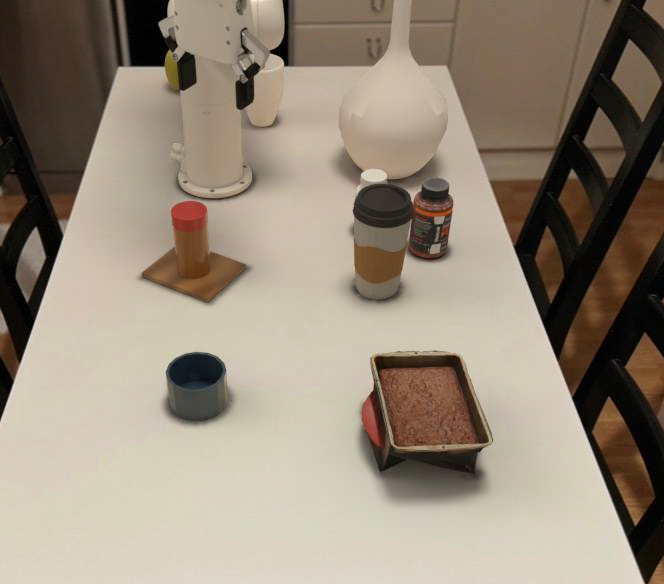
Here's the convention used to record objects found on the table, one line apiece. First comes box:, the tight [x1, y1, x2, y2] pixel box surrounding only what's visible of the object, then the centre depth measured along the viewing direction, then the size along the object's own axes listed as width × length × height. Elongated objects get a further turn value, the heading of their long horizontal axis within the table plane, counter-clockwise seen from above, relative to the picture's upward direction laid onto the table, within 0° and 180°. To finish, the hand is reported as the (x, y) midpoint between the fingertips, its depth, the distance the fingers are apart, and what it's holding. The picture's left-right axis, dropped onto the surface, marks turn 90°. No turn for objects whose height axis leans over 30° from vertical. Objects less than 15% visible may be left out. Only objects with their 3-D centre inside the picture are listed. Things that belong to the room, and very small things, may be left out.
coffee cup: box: [352, 183, 413, 300], centre depth 129 cm, size 8×8×15 cm
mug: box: [239, 53, 285, 128], centre depth 170 cm, size 12×8×11 cm
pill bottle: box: [354, 169, 388, 200], centre depth 142 cm, size 5×5×10 cm
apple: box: [164, 49, 180, 92], centre depth 180 cm, size 8×8×10 cm
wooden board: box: [141, 246, 247, 303], centre depth 137 cm, size 12×10×1 cm
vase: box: [338, 0, 449, 180], centre depth 150 cm, size 18×18×30 cm
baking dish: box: [361, 350, 494, 475], centre depth 109 cm, size 14×18×10 cm
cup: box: [165, 351, 229, 422], centre depth 115 cm, size 7×7×5 cm
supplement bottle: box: [408, 177, 454, 259], centre depth 137 cm, size 6×6×11 cm
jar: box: [170, 200, 211, 279], centre depth 133 cm, size 5×5×10 cm
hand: (216, 96), depth 125 cm, fingers open, 9 cm apart
